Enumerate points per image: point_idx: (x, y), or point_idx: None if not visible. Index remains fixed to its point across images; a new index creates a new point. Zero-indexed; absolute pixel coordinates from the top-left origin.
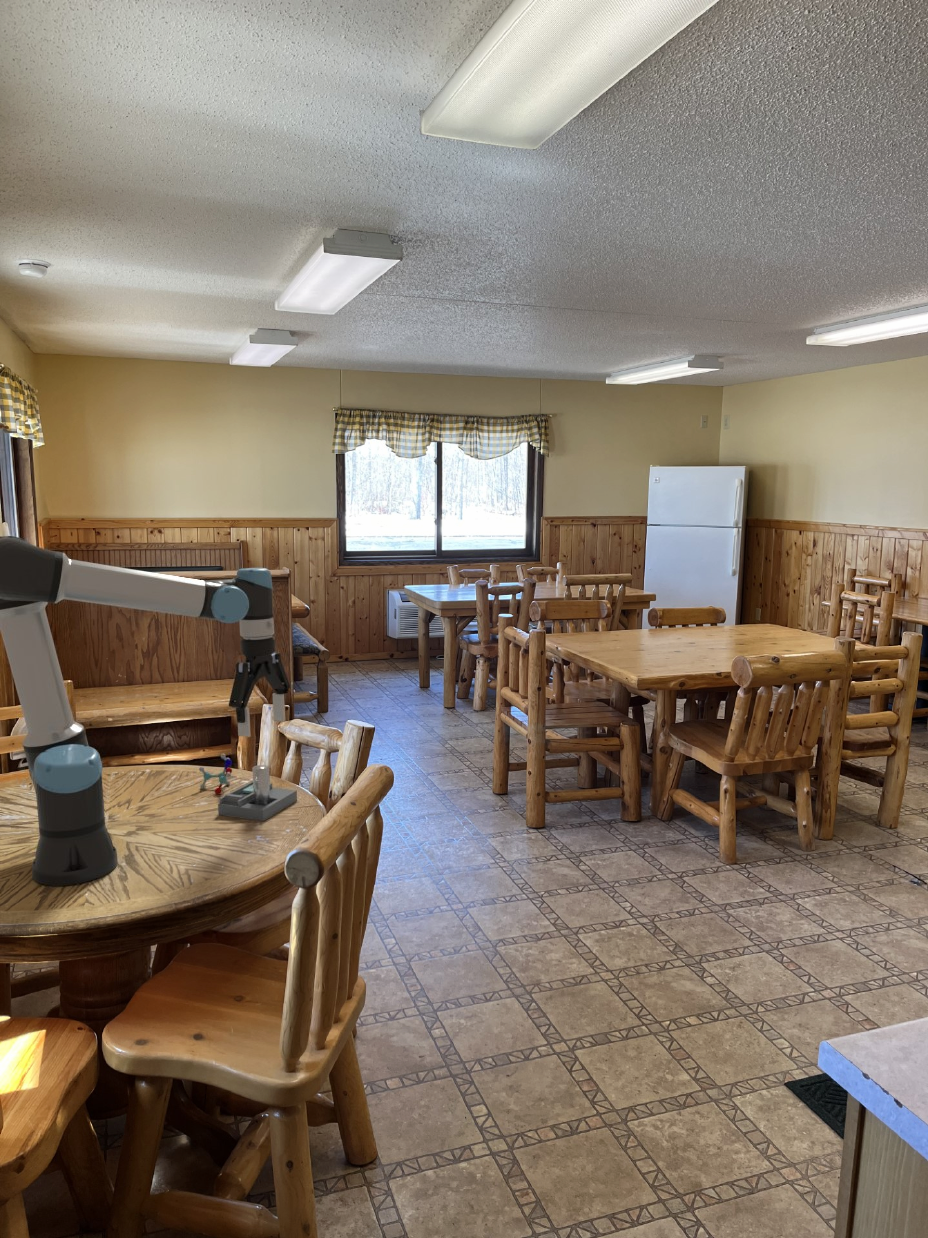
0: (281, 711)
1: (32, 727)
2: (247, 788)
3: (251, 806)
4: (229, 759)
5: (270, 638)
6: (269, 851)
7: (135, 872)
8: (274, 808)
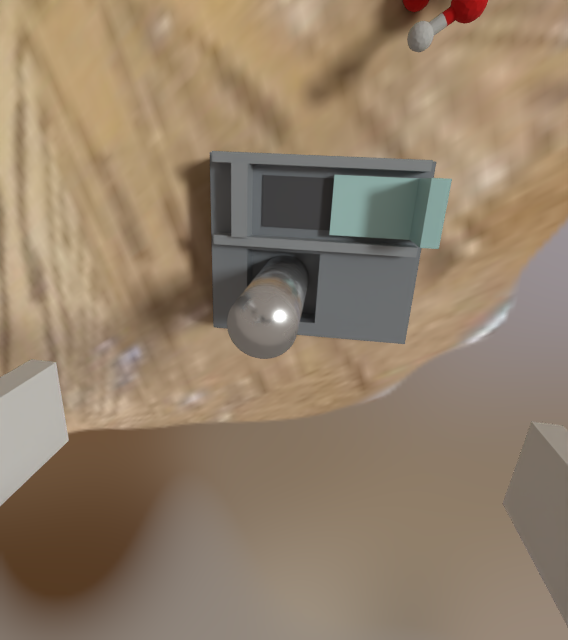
0: (559, 580)
1: None
2: (356, 183)
3: (228, 278)
4: None
5: None
6: (81, 409)
7: None
8: None
